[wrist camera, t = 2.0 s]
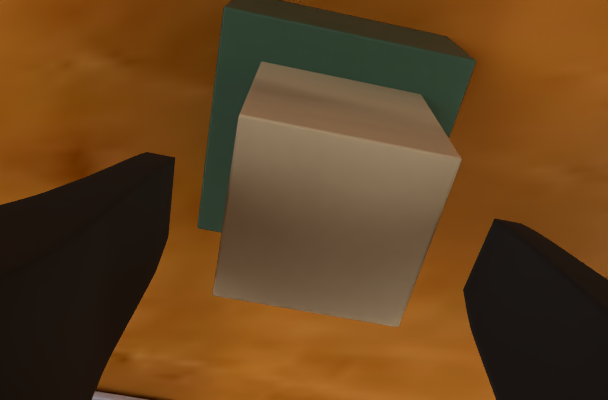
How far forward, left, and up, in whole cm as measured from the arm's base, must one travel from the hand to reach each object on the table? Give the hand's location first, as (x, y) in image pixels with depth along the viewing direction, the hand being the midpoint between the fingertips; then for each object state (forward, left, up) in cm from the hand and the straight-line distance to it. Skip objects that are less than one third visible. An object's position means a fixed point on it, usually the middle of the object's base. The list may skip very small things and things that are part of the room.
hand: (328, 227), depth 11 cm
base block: (0, 0, -8) cm, 8 cm away
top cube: (0, 0, -4) cm, 4 cm away
